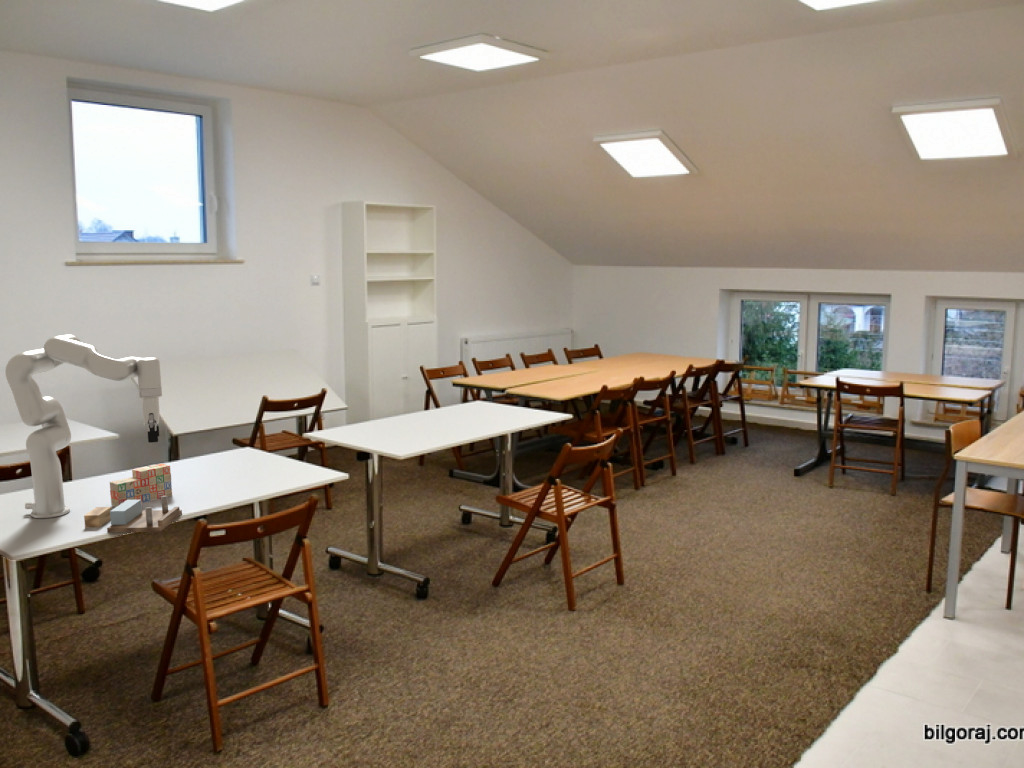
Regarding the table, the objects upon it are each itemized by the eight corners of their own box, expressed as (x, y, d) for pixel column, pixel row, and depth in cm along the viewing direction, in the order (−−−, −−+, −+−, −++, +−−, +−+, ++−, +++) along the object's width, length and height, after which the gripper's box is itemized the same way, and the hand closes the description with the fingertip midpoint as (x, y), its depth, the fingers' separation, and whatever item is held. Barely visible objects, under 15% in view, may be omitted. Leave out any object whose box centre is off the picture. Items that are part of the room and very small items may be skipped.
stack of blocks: (119, 508, 321) (116, 476, 319) (111, 505, 325) (108, 473, 323) (172, 495, 337) (170, 465, 335) (164, 493, 341) (162, 462, 339)
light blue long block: (111, 524, 295) (109, 511, 294) (128, 512, 309) (127, 499, 308) (125, 524, 295) (124, 511, 295) (142, 512, 309) (141, 499, 308)
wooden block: (85, 528, 298) (84, 515, 298) (97, 519, 308) (96, 507, 307) (99, 527, 298) (98, 515, 298) (111, 519, 308) (110, 506, 308)
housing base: (107, 532, 292) (105, 511, 291) (132, 514, 312) (130, 494, 311) (160, 531, 293) (158, 510, 292) (182, 513, 312) (180, 493, 311)
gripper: (140, 389, 313) (144, 435, 316) (137, 396, 297) (141, 445, 299) (162, 388, 315) (166, 434, 318) (160, 395, 299) (164, 443, 302)
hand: (154, 439), depth 309 cm, fingers open, 9 cm apart
